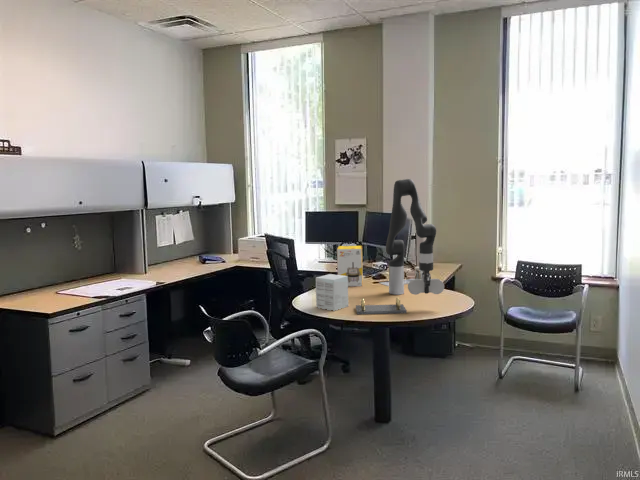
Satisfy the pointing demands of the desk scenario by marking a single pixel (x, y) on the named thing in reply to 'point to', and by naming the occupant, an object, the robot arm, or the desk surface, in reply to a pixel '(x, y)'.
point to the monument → (417, 276)
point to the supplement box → (332, 292)
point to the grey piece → (418, 286)
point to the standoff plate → (380, 308)
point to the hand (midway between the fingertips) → (426, 292)
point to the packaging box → (350, 264)
